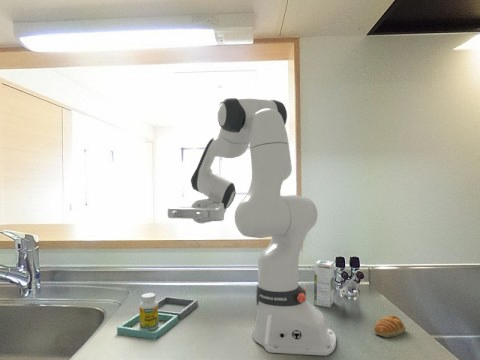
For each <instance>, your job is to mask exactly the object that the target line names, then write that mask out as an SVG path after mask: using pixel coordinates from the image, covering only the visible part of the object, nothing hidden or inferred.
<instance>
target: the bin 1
mask: <svg viewBox="0 0 480 360" xmlns="http://www.w3.org/2000/svg"><path fill="white" fill-rule="evenodd" d="M158 321H165V323H164V324H162V325H161V326H160V327H157V328H156V330H155V331H153V330H149V331H148V330H142V329H140V328H134V327H132V326H134V325H135V324H136V323H138V322H140V312H138V313H137V314H135V315H134V316H132V317H131V318H129V319H128V320H126V321H124V322H123V323H122V324H120V325H118V326H116V327H117V328H116V333H117V335H125V336H132V337H138V338H144V339H148V340H149V339H150V340H157V339H158V338H160V337H161V336H162V335H163V334H164V333H166V332H167V331H168V330H169V329H170V328H172V327H173V326H175V325H176V324H177V323H178V321H179V319H178V315H171V314H163V313H158Z"/></svg>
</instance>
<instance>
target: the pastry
mask: <svg viewBox="0 0 480 360" xmlns="http://www.w3.org/2000/svg"><path fill="white" fill-rule="evenodd" d="M406 329H407V328H406V326H405V324H404V322H403V321H402V319H401V318H400V317H398V316H396V315H387V316H385V317H382V318H380V319H378V321H377V322H376V324H375V326H374V329H373V330H374V334H375V335H379V336H382V337H384V338H389V337H391V336H392V337H398V336H399V335H401V334H403V333H404V332H405V331H406Z"/></svg>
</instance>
